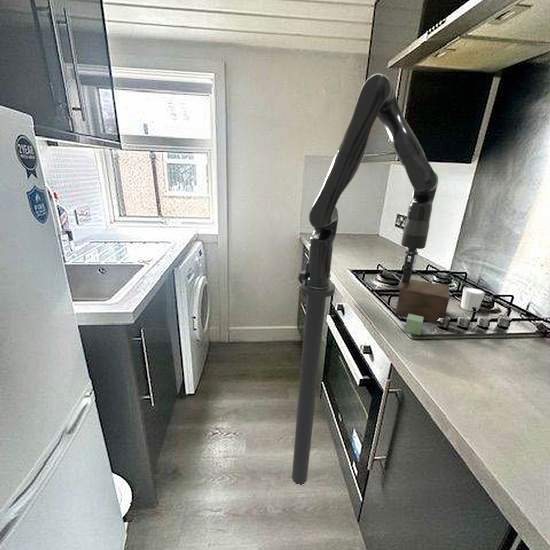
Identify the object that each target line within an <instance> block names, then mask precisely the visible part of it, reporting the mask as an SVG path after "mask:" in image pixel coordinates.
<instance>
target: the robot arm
mask: <svg viewBox="0 0 550 550" xmlns="http://www.w3.org/2000/svg"><path fill="white" fill-rule="evenodd" d="M377 119H378V120H379V121H380V122H381V124H382V126H383V128H384V130H385V131H386V133H387V137H388V139H389V141H390V144H391V146H392V149H393V150H394V152H395V155H396V156H397V159H398V160H399V162H400V164H401V166H402V167H403V169H404V170H405V173H406V175H407V177H408V180H409V182H410V184H411V186H412V188H413V190H412V196H411V201H410V202H409V205H408V208H407V215H406V220H405V222H404V226H403V231H402V237H401V243H400V245H401V246H402V247H403V248H407V250H405V252H404V259H403V269H402V273H403V274H402V278H403V279H402V283H406V284H408V283H409V280H410V279H412V274H413V269H414V267H415V264H416V263H417V259H418V255H419V251H418V250H423V249H425V248H426V245H427V240H428V235H429V230H430V222H431V217H432V212H433V205H434V204H433V203H434V200H435V196H436V193H437V189H438V184H439V176H438V174H437V173H436V171H434V169H433V168H432V165H431V164H430V162H429V161H428V159H427V157H426V154H425V151H424V149H423V147H422V145H421V144H420V142H419V140H418V138H417V136H416V134H415V133H414V131H413V130H412V127H410V125H409V124H408V122H407V120H406V118H405V116H404V114H403V113H402V110H401V107H400V105H399V103H398V99H397V96H396V91H395V87H394V85H393V83H392V82H391V80H390V79H389V78H388V76H386V75H385V74H382V73H375V74H372V75H371V76H370V77H368V78H367V79H366V81H365V82H364V83H363V85H362V87H361V89H360V91H359V94H358V98H357V101H356V104H355V108H354V110H353V114H352V116H351V119H350V121H349V124H348V125H347V128H346V130H345V133H344V134H343V136H342V139H341V141H340V144H339V147H338V148H337V151H336V152H335V154H334V157H333V159H332V162H331V165H330V167H329V170H328V172H327V175H326V177H325V180H324V182H323V185H322V187H321V190H320V192H319V193H318V195H317V197H316V199H315V201H314V203H313V205H312V207H311V208H310V211H309V214H308V220H309V224H310V225H311V227H312V228H314V229H313V232H312V234H311V236H310V238H309V246H308V259H307V260H308V261H307V262H306V263H305V269H303V270H302V271H300V272H299V273H298V277H297V279H298V282H299V283H301V284H303V281H305V286H307V287H309V288H312V289H319V290H322V289H327V288H329V283H330V279H331V277H332V274H331V269H332V259H333V250H334V242H335V240H336V235H337V231H338V223H339V211H338V207H336V206H337V204H338V202H339V200H340V198H341V195H342V194H343V193H344V192H345V190H346V189H347V188H348V186H349V185H350V184H351V182H352V181H353V179H354V178H355V177H356V174H357V172H358V170H359V169H360V166H361V164H362V161H363V160H364V157H365V155H366V152H367V148H368V143H369V139H370V134H371V130H372V128H373V125H374V123H375V121H376V120H377Z"/></svg>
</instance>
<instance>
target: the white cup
mask: <svg viewBox="0 0 550 550" xmlns="http://www.w3.org/2000/svg"><path fill="white" fill-rule="evenodd" d="M485 295H486V292H485V291H484V290H482V289H479V288H475V287H463V289H462V296H461V302H460V307H461V309H463V310H465V311H470V312H474V311H473V309H472V307H476V308H477V309H476V311H475V312H478V311H479V309H480V307H481V305H482V302H483V300H484V297H485Z"/></svg>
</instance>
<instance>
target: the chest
mask: <svg viewBox="0 0 550 550" xmlns="http://www.w3.org/2000/svg"><path fill="white" fill-rule="evenodd" d="M449 302H450V299H449V300H447V299H442V298H437V297H432V296H427V295H422V294H417V293H411V292H406V291H401V290H399V294H398V300H397V305H396V309H395V310H396V311H395V315H397V316H398V315H399V316H402V317H408V314H413V315H417V316H422V317H424V319H423V322H429V323H433V324H437V325H441V326H442V325H444V322H443V323H441V322H440V321H437V320H438V319H439V318H444V319H445V318H446V314H447V311H448V306H449Z"/></svg>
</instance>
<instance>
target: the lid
mask: <svg viewBox="0 0 550 550" xmlns="http://www.w3.org/2000/svg"><path fill="white" fill-rule="evenodd" d="M402 279H403V277H401V278H400V281H399V283H398V285H397V287H396V290H397V291H400V290H401V291H406V292H411V293H417V294H422V295H427V296H432V297H437V298H442V299H447V300H449V301H450V285H445V284H440V283H434V282H429V281H423V280H417V279H412V278H410V280H409V283H408V284H406V283H402Z"/></svg>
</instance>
